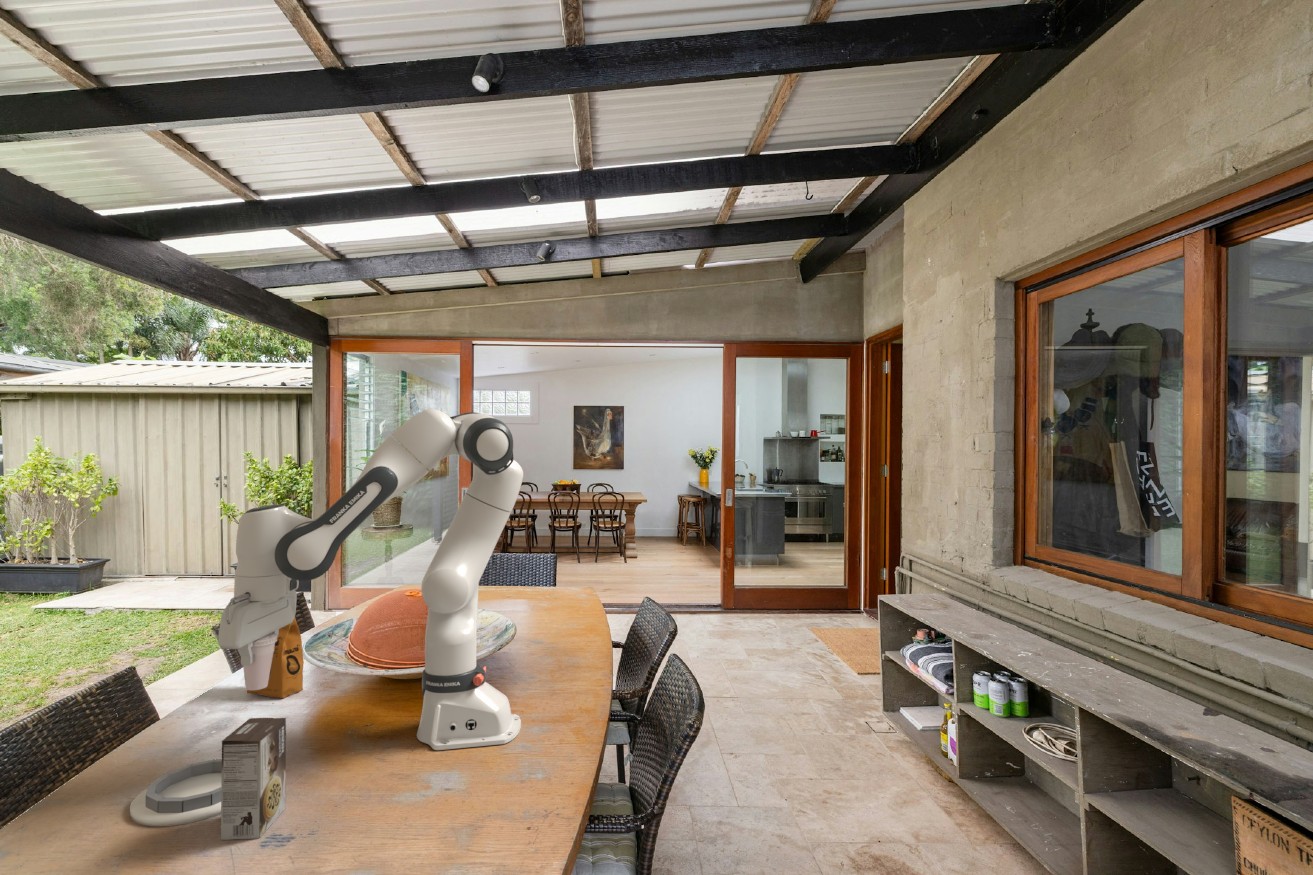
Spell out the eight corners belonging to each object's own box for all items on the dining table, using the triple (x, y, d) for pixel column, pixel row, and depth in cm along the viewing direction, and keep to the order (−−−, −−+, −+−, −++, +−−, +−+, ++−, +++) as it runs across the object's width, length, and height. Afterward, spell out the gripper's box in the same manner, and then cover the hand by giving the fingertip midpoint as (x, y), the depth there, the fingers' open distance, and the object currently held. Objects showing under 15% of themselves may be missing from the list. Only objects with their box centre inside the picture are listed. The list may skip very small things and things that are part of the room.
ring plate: (285, 767, 130) (285, 752, 130) (221, 825, 110) (221, 807, 110) (182, 769, 130) (182, 753, 130) (99, 827, 110) (99, 809, 110)
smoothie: (257, 694, 125) (260, 620, 125) (229, 690, 126) (231, 617, 126) (283, 682, 131) (285, 612, 131) (255, 679, 132) (258, 609, 133)
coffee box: (248, 810, 115) (249, 717, 115) (287, 808, 116) (288, 715, 116) (218, 841, 106) (219, 740, 106) (260, 839, 107) (261, 738, 107)
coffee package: (278, 702, 164) (279, 614, 164) (240, 697, 168) (241, 610, 168) (310, 688, 174) (311, 605, 174) (273, 683, 177) (274, 601, 178)
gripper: (245, 600, 119) (242, 677, 118) (303, 578, 139) (300, 644, 139) (209, 599, 119) (206, 676, 118) (273, 577, 139) (270, 643, 139)
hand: (257, 658), depth 129 cm, fingers closed on smoothie, 5 cm apart
